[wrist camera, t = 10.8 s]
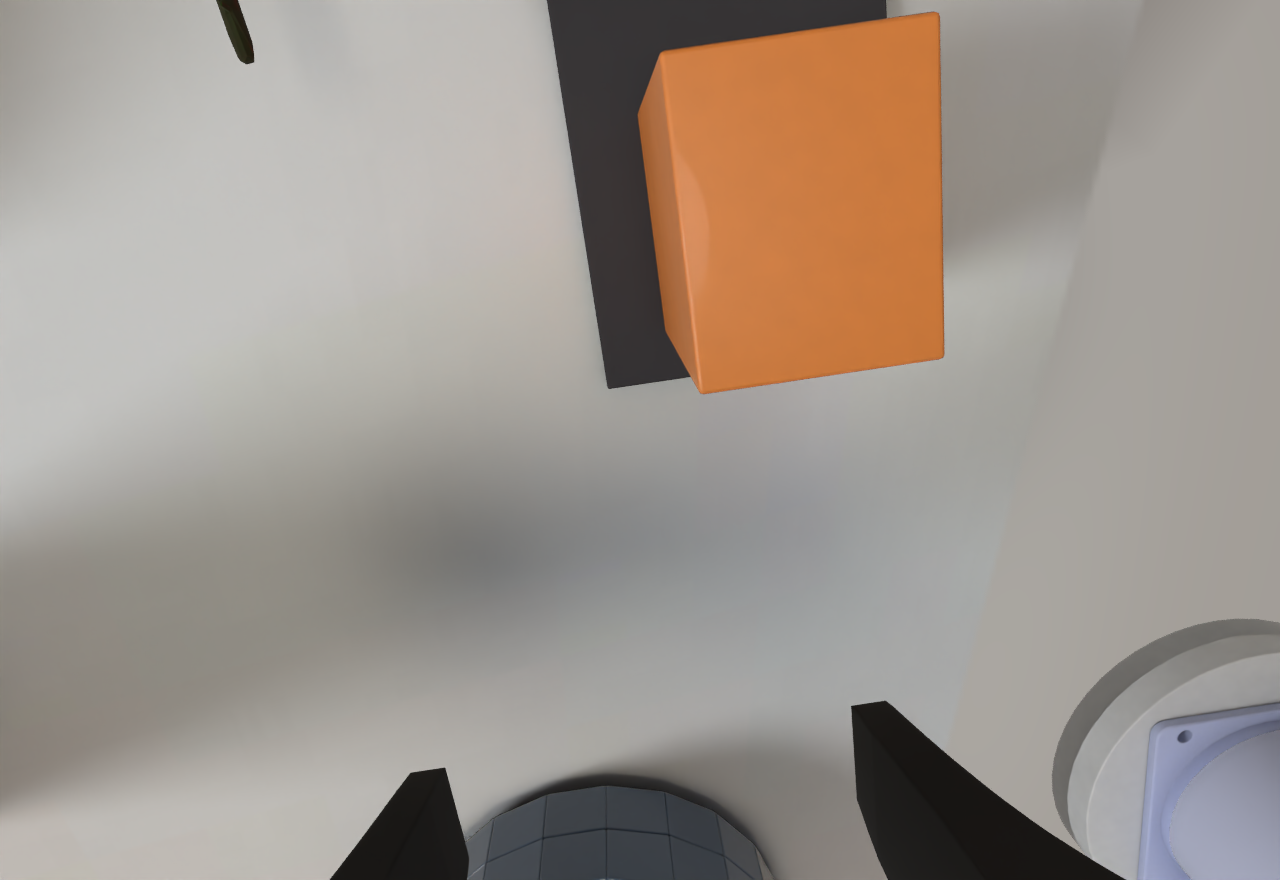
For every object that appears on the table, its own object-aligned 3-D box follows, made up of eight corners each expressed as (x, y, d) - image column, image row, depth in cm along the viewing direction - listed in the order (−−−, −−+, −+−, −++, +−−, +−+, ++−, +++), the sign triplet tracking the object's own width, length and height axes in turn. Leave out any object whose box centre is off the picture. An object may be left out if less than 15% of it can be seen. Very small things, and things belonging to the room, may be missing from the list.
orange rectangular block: (814, 85, 18) (942, 8, 11) (828, 309, 20) (946, 359, 13) (636, 111, 18) (658, 49, 11) (665, 333, 19) (699, 396, 13)
